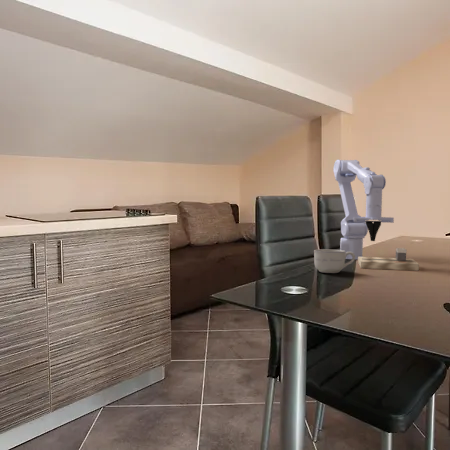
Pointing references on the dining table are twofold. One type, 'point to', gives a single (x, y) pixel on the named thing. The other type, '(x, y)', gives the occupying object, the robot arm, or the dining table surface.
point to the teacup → (331, 260)
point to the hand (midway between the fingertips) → (372, 240)
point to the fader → (401, 254)
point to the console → (387, 263)
